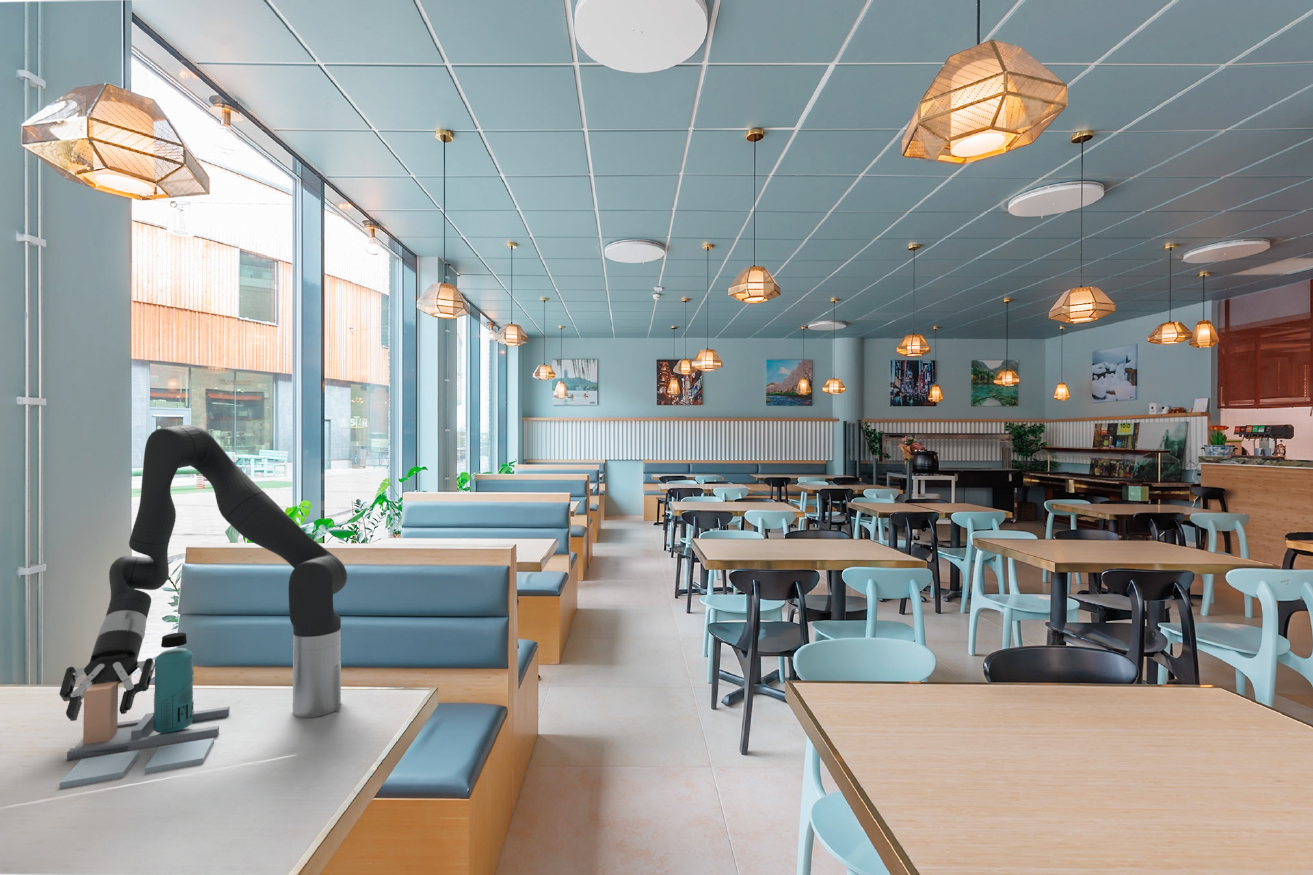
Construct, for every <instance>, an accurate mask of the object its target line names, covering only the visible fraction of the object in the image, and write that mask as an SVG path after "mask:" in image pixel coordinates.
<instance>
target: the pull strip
mask: <svg viewBox="0 0 1313 875" xmlns="http://www.w3.org/2000/svg"><path fill="white" fill-rule="evenodd" d="M118 704H119V684H118V681H117V682H109V683H101V684H93V685H91V686H90V687H89V688H88V689H87V690H85V691H84V699H83V731H82V732H83V733H82V734H83V735H82V739H81V740H80V741H79V742H78V743H77V744H76V745H75V747H73V748H71V747H70V749H69V750H68V751H67V752H66V761H72V760H79V759H80V760H81V759H86V758H92V757H98V756H104V755H110V754H117V753H123V752H129V751H135V750H143V749H147V748H152V747H153V748H154V747H160V746H166V745H173V744H179V743H185V742H191V741H197V740H204V739H210V738H216V737H218V736H219V734H220V725H215V726H208V727H201V728H195V729H189V730H182V731H181V730H180V731H174V732H168V733H161V734H157V735H151V733H152V732H153V731H155V729H154V726H153V725H154V718H153V717H154V716H153V715H154V712H151V713H145V714H144V716H143V717H142V718H141V719H133V720H126V721H121V722H120V721H118V720H119V718H118V714H119V713H118V712H119V711H118V710H119V705H118ZM193 713H194V714H193V715H194V716H193V720H192V723H193V722H198V721H204V720H212V719H218V718H225V717H229V716H230V706H223V707H216V708H210V709H202V710H196V711H193Z"/></svg>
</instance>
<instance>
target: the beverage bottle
mask: <svg viewBox="0 0 1313 875" xmlns="http://www.w3.org/2000/svg"><path fill="white" fill-rule="evenodd" d="M187 643H188V638H187V633H186V632H172V633H168V634H165V635H163V636H162V637H161V644H160V647H161V648H163V649H164V648H166V649H167V650H164V651H162V652H161V653H160V654H159V655H158V656H156V657H155V659H154V664H155V667H154V692H153V700H152V701H153V705H152V706H153V713H154V715H153V716H154V717H153V718H154V725H153V726H154V732H156V733H158V734H168V733H175V732H179V731H181V730H184V729H186V728H188V727H190V726H191V725H192V723H193V722H192V720H193V716H194V715H193V714H194V713H193V712H194V704H195V703H194V698H193V697H194V694H193V693H194V689H193V688H194V680H195V678H194V675H195V674H194V666H193V664H194V663H193V662H194V660H193V659H194V658H193V657H194V653H193V652H192V651H191V650H190V649H188V648H183V647H182V648H181V646H183V645H186V644H187ZM175 647H180V648H175ZM169 648H173V649H169Z"/></svg>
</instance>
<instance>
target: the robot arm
mask: <svg viewBox="0 0 1313 875" xmlns="http://www.w3.org/2000/svg"><path fill="white" fill-rule="evenodd" d="M143 453H144V454H143V455H144V456H143V463H142V464H143V465H142V466H143V467H142V478H141V491H140V501H139V506H138V509H137V514H136V517H135V522H134V523H133V527H132V530H131V534H130V538H129V541H128V544H129V548H130V550H132V551H134V552H135V553H139V554H142V555H145V557H144V556H143V557H142V556H132V555H124V556H120V557H119V558H117V559H115V560H114V562H113V563H111V565H110V568H109V570H108V571H109V573H108V578H109V580H108V581H109V586H110V587H109V588H110V600H109V605H108V608H107V611H106V614H105V617H104V620H103V622H102V624H101V626H100V628H99V631H98V634H97V637H96V640H95V644H94V647H93V650H92V653H91V655H90V661H89V662H88V663H87V665H86V666H85V667H81V668H80V667H79V668H75V667H74V666H69V667H67V668H66V670H65V673H64V676H63V679H62V680H63V681H62V682H61V686H60V690H59V696H60V698H61V699H62V701H64V702H69V703H68V705H67V709H66V712H65V715H66V717H67V719H69V720H70V722H72V721H73V722H75V721H77V719H78V717H79V714H80V710H81V708H82V704H83V702H82V701H84V691H85V690H87V689H88V688H89V687H90V686H91V685H93V684H101V683H109V682H117V681H118V685H120V684H122V685H123V687H124V689H125V691H123V694H122V698H121V702H120V705H119V712H120V715H125V714H127V713H128V711H130V710H131V709H132V708H133V703H134V700H135V696H136V695H137V694H138V693H139V692H140V693H141V692H146V691H148V690H149V688H150V684H151V681H152V678H153V674H154V672H155V661H154V660H153V658H152V657H151V658H150V657H148V658H147V659H145V660H140V661H138V659H139V656H140V652H141V648H142V645H143V640H144V638H145V637H146V636H145V634H146V633H145V632H146V627H147V619H148V617H149V614H150V608H151V605H152V597H151V595H149V593H147V592H145V591H143V590H147V591H154V590H159V589H160V588H162V587H163V586H165V584H166V583H167V581H168V580H169V579H168V578H169V574H170V573H169V572H170V571H169V570H170V568H169V559H168V558H169V557H168V551H169V550H168V549H169V544H170V540H171V537H172V535H173V531H174V527H175V524H176V518H177V512H176V507H175V504H174V501H173V498H172V493H171V492H172V491H171V487H172V482H173V480H174V477H175V475H176V473H177V471H178V470H179V469H182V468H187V467H192V468H194V469H195V470H196V471H197V472H198V473H200V474H201V475H202V476H203V477H204V478H205V479H206V480H207V482H209V484H211V487H212V488H213V491H214V495H215V499H216V503H217V504H216V505H217V509H218V511H219V512H220V515H221V516H222V517H223V519H224V520H225V521H226V522H227V523H228V524H229V525H230V526H231V527H232V528H233V529H235V530H236V531H237V532H238V533H239V534H240V535H241V536H242V537H244V539H246V540H248V541H250V542H252V543H253V544H256V545H258V546H259V547H262V548H264V549H266V550H268V551H269V552H272V553H273V554H276V555H278V556H279V557H280V558H282V559H283V560H285V561H286V562H287V563H288V565H290V566H291V567H292V568H293V569H292V572H290V576H289V580H288V611H289V613H288V614H289V615H288V616H289V620H290V623H291V625H292V628H293V629H292V630H293V640H292V652H293V653H292V665H293V666H292V715H293V716H294V717H297V718H306V719H307V718H315V717H321V716H324V715H328V714H330V713H334V712H337V711H341V710H340V708H341V701H342V700H341V698H342V697H341V695H342V693H341V691H342V688H341V687H342V686H341V684H342V682H341V681H342V680H341V679H342V678H341V677H342V676H341V675H342V659H341V640H342V639H341V635H342V634H341V630H342V628H341V627H342V626H341V624H342V620H341V616H340V615H339V614H337V613H335V610H334V595H335V594H337V593H339V592H340V591H342V589H344V587H345V585H346V584H347V580H348V572H347V570H346V567H345V565H344V564H343V562H342V561H341V560H340V559H338V557H337V556H335V555H334V554H333V553H332V552H330V551H329V550H327V549H326V548H325V547H323V546H322V545H321V544H320V543H318V542H317V541H316V540H314V539H313V538H312V537H310V535H308V533H306V531H304V529H302V528H301V526H300V525H299V524H297V522H295V521H294V520H293V519H292V518H291V517H290V516H289V515H288V514H287V513H286V512H285V511H284V510H283V509H282V508H281V507H280V506H279V505H278V503H276V502H275V501H274V500H273V499H272V498H271V497H270V495H268V494H267V493H266V492H265V491H264V490H262V489H261V488H260V487H259V486H258V485H257V484H256V483H255V482H254V481H253V480H252V479H251V478H250V477H249V476H248V475H247V474H246V473H245V472H244V471H243V470H242V469H241V468H240V467H239V466H238V465H237V464H236V463H235V462H234V461H233V459H232V458H231V457H230V456H229V455H228V454H227V453H226V451H225V450H224V449H223V448H222V446H220V444H219V443H218V442H217V440H216V439H215V438H214V437H213V436H212V434H210V433H209V432H208V431H207V430H206V429H204V428H203V427H201V426H199V425H194V424H183V425H181V424H180V425H174V426H173V425H172V426H167V427H166V426H165V427H160V428H157V429H155V430H154V431H152V432H151V434H150V435H149V436H148V437H147V439H146V443H145V447H144V452H143ZM146 556H147V557H146ZM138 669H139V670H140V672H141V674H140V677H139V680H138V682H137V683H133V681H132V680H131V678H130V676H131V675H132V674H134V673H135V671H137V670H138ZM84 675H85V676H86V677H85V678H83V680H82V681H81V682H80V684H79V685H78V687H76V689H75V686H76V683H77V681H79V680H80V678H82V676H84Z"/></svg>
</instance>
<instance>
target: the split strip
mask: <svg viewBox="0 0 1313 875" xmlns="http://www.w3.org/2000/svg"><path fill="white" fill-rule="evenodd" d="M214 744H215V737H211V738H204V739H198V740H192V741H186V742H179V743H173V744H167V745H161V746H158V748H157V750H156V751H155V753H154V754H153V756H152V757H151V759H150V760H149V762H148V763H147V764H146V765H145V767H144V774H151V773H155V772H156V773H157V772H162V771H166V770H174V769H179V768H184V767H190V766H196V765H201V764H204V762H205V761H206V759H207V757H208V755H209V754H210V751H211V749H212V747H213V746H214ZM140 756H141V749H136V750H130V751H123V752H117V753H111V754H105V755H98V756H92V757H86V758H80V760H79V761H78V762H77V763H76V765H75V766H74V767H73V768H72V769H71V770H70V771H69V772H68V773H67V774H65V776H64V777H63V778H62V779H61V780H60V782H59V789H64V788H68V787H76V786H81V785H87V784H92V783H98V782H104V781H109V780H115V779H116V780H117V779H120V778H121V779H123V778H124V777H125V776H126V774H127V773H129V771H130V769H131V768H132V767H133V766H134V764H135V762H136V761H137V760H138V758H139V757H140Z"/></svg>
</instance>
